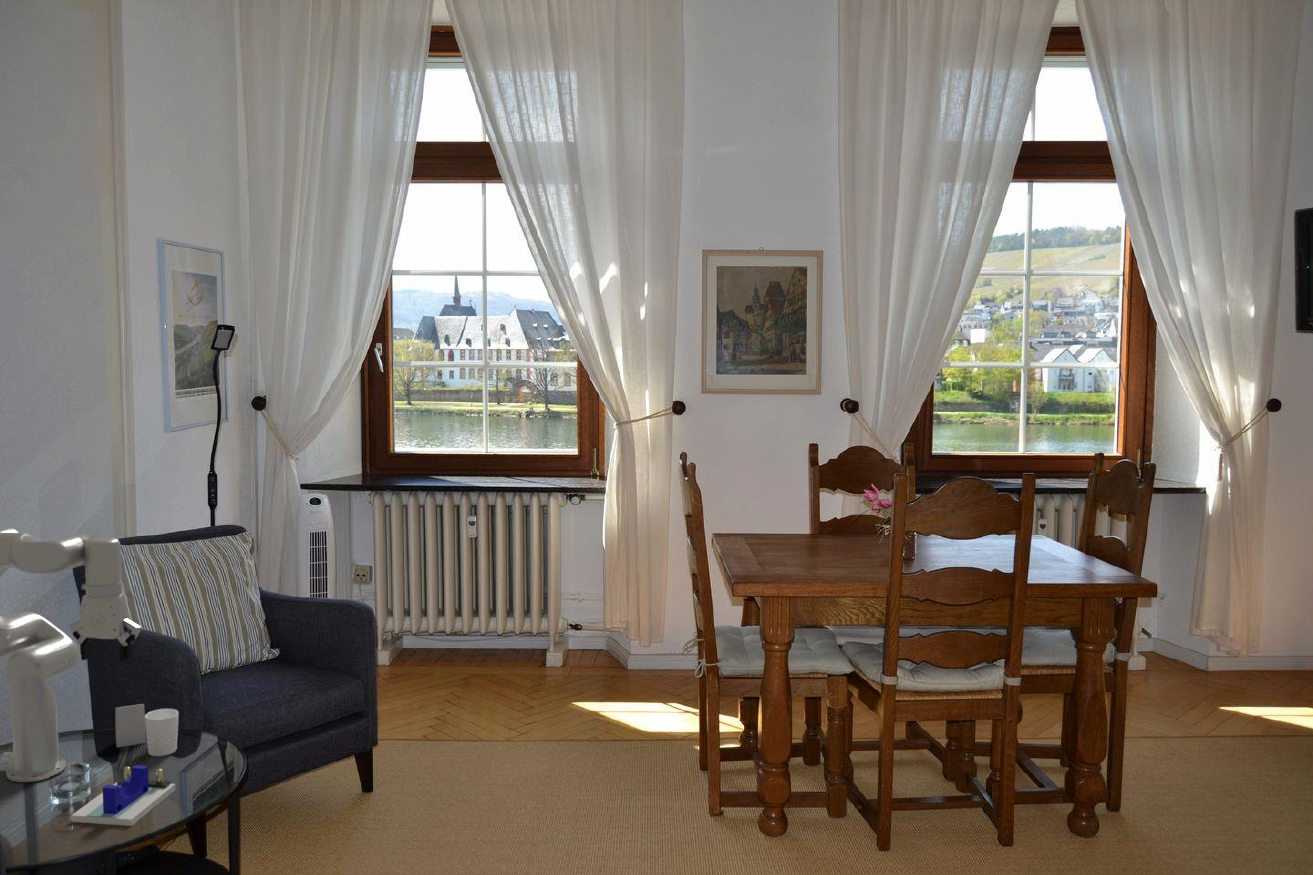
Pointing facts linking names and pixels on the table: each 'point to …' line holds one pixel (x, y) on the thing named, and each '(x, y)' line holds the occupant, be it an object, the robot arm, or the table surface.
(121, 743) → the grey box
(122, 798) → the blue curved stepped piece
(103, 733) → the table surface
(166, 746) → the white cup
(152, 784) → the coat peg rack
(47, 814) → the table surface
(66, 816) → the table surface
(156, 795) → the board
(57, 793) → the table surface
